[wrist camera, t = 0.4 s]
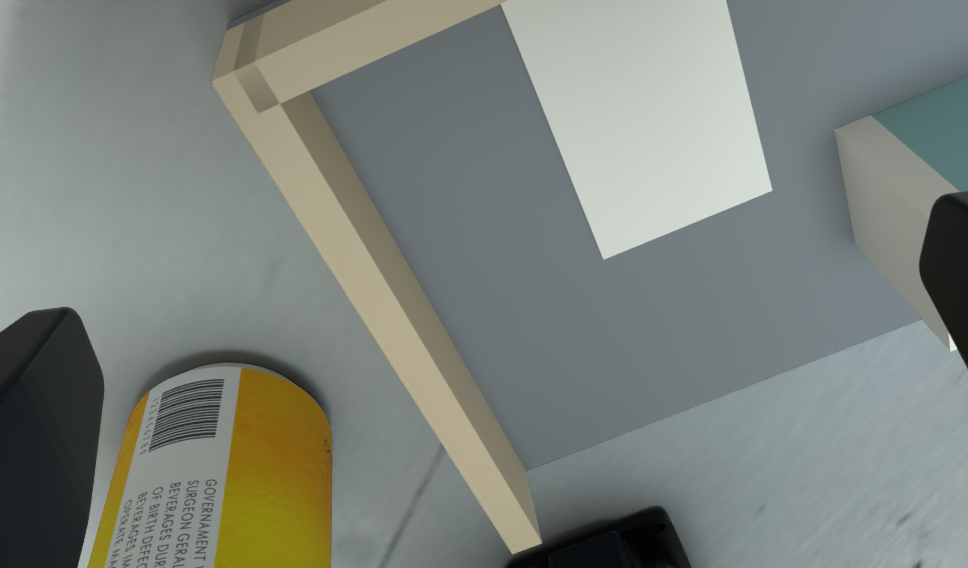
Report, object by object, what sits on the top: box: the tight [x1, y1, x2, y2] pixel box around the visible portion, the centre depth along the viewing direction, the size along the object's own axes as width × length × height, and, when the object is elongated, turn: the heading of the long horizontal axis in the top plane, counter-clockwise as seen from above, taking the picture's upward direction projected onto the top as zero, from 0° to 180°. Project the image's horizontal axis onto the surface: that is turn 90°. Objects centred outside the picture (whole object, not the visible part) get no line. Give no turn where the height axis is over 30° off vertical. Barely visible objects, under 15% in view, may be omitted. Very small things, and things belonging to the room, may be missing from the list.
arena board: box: [210, 0, 968, 554], centre depth 23 cm, size 17×20×4 cm
